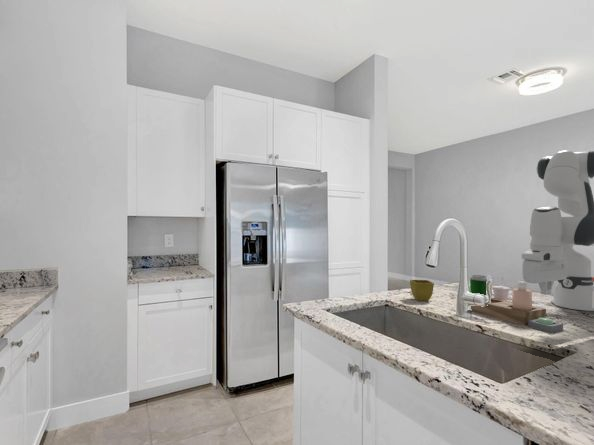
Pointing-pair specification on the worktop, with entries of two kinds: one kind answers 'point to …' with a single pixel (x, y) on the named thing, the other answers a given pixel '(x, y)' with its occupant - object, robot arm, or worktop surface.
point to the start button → (545, 321)
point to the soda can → (478, 284)
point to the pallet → (510, 311)
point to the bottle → (522, 297)
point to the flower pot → (421, 289)
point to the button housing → (546, 326)
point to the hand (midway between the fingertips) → (545, 294)
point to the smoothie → (501, 292)
